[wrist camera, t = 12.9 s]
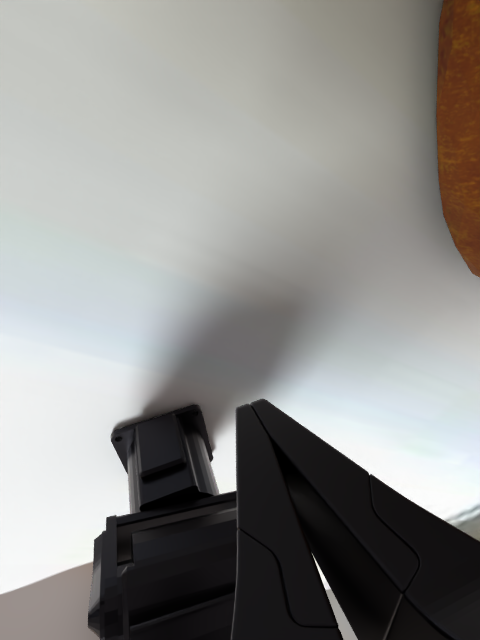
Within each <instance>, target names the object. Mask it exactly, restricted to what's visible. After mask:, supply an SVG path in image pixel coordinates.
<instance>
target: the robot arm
mask: <svg viewBox="0 0 480 640" xmlns="http://www.w3.org/2000/svg"><path fill="white" fill-rule="evenodd" d="M194 411H196V412H194ZM119 436H120V437H119ZM111 442H112V444H113V446H114V448H115V450H116V452H117V454H118V456H119V458H120V460H121V462H122V464H123V466H124V468H125V470H126V472H127V474H128V482H129V502H130V514H127V515H122V516H118V517H116V515H114V516H110V517H106V531H103V532H102V534H101V535H100V536H98V537H97V538H96V539H95V540H94V561H93V577H92V585H91V594H90V603H89V611H88V628H89V629H91V630H92V631H93V632H94V633H95V634H96V635H97V636H98V637H99V638H100V640H343V638H342V634H341V632H340V630H339V629H338V623H337V621H336V618H335V615H334V612H333V610H332V607H331V604H330V602H329V599H328V597H327V594H326V591H325V588H324V585H323V582H322V580H321V577H320V574H319V571H318V569H317V566H316V563H315V560H314V558H313V555H314V557H315V559H316V561H317V563H318V565H319V567H320V569H321V571H322V572H323V574H324V576H325V578H326V580H327V582H328V584H329V586H330V588H331V590H332V591H333V593H334V595H335V597H336V599H337V601H338V603H339V605H340V607H341V608H342V610H343V612H344V614H345V616H346V618H347V620H348V621H349V624H350V625H351V627H352V629H353V631H354V633H355V635H356V637H357V638H358V640H480V541H479V540H477V539H475V538H473V537H472V536H470V535H468V534H466V533H465V532H463V531H461V530H460V529H458V528H456V527H454V526H453V525H451V524H449V523H447V522H446V521H444V520H442V519H441V518H439V517H437V516H435V515H434V514H432V513H430V512H429V511H427V510H425V509H424V508H422V507H420V506H419V505H417V504H415V503H414V502H412V501H410V500H409V499H407V498H405V497H404V496H402V495H401V494H399V493H398V492H396V491H395V490H393V489H392V488H390V487H389V486H388V485H386V484H385V483H383V482H382V481H380V480H379V479H377V478H376V477H375V476H373V475H372V474H370V475H369V473H368V472H367V471H366V470H365V469H363V468H362V467H360V466H359V465H357V464H356V463H355V462H353V461H352V460H350V459H349V458H348V457H346V456H345V455H343V454H342V453H340V452H339V451H338V450H336V449H335V448H333V447H332V446H331V445H329V444H328V443H326V442H325V441H323V440H322V439H321V438H319V437H318V436H316V435H315V434H314V433H312V432H311V431H309V430H308V429H306V428H305V427H304V426H302V425H301V424H299V423H298V422H297V421H295V420H294V419H292V418H291V417H289V416H288V415H287V414H285V413H284V412H282V411H281V410H279V409H278V408H277V407H275V406H274V405H272V404H271V403H270V402H268V401H267V400H265V399H260V400H257V401H254V402H252V403H251V404H245V405H242V406H239V407H237V408H236V485H237V491H233V492H228V493H224V494H219V490H218V487H217V484H216V480H215V477H214V474H213V470H212V467H211V463H210V462H211V461H212V460H213V455H212V451H211V447H210V443H209V439H208V435H207V431H206V427H205V423H204V419H203V415H202V411H201V408H200V406H198V405H192V406H189V407H186V408H183V409H180V410H176V411H173V412H170V413H167V414H164V415H161V416H158V417H155V418H152V419H149V420H146V421H143V422H140V423H137V424H133V425H130V426H127V427H124V428H121V429H118V430H115V431H114V432H113V433H112V434H111ZM312 554H313V555H312Z"/></svg>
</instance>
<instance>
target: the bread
mask: <svg viewBox="0 0 480 640" xmlns="http://www.w3.org/2000/svg"><path fill="white" fill-rule="evenodd" d="M436 117H437V145H438V173H439V185H440V193H441V200H442V207H443V215H444V218H445V220H446V223H447V225H448V228H449V230H450V233H451V236H452V238H453V241H454V243H455V246H456V248H457V249H458V251H459V253H460V254H461V256H462V257H463V259H464V261H465V262H466V264H467V265H468V267H469V269H470V270H471V272H472V273H473V274H474V275H476V276H478V277H480V0H444V2H443V7H442V12H441V17H440V22H439V48H438V81H437V114H436Z"/></svg>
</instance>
